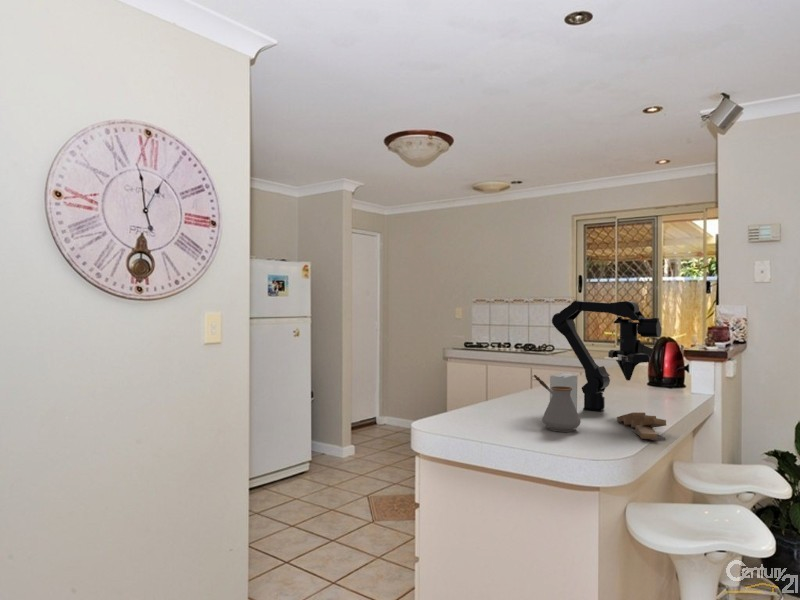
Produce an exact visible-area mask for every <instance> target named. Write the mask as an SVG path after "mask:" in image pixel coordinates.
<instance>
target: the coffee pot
mask: <svg viewBox="0 0 800 600" xmlns="http://www.w3.org/2000/svg"><path fill="white" fill-rule="evenodd" d="M533 377H534V378H535V379H534V381H536V382H537V381H538V383H539V385H541V386H542V387H543V388H545V390H547V391H548V393H549V394H550V393H551V394H552V395H553V396H552V398H551V400H550V399H549V402H548V404H547V407H546V409H545V411H544V414H543V416H542V419H541V420H542V421H543V422H542V423H543V424H544V425H545V427H548V429H549V430H550V431H553V432H554V431H555V432H559V433H560V432H561V433H568V432H569V433H571V432H574V431H575V430H576V429H577V428H578V427H579V426H580V425H581V423H582V421H581V417H580V416H579V413H578V409H577V410H576V408H575V406H574V403H573V401H572V398H571V396H570V393H571V390H572V388H571V387H562V386H555V387H551V389H552V390H551V389H550V386H548V385H547V384H546V383H545V381H544V380H542V379H540V377H539V376H537V374H534V375H532V376H531V380H533Z"/></svg>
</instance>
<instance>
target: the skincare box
mask: <svg viewBox="0 0 800 600" xmlns="http://www.w3.org/2000/svg"><path fill="white" fill-rule="evenodd" d="M555 386H562V387H571V388H572V390H571V393H570V396H571V398H572V401H573V403H574V406H575V408H576V410H577V411H578V375H577V374H574V373H573V374H572V373H566V372H562V373H561V372H560V373H556V374H551V375H550V376H549V389H551V387H555ZM551 390H552V389H551ZM552 396H553V395H552V394H551V393H550V392H549V401H550V400H551V398H552Z"/></svg>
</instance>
